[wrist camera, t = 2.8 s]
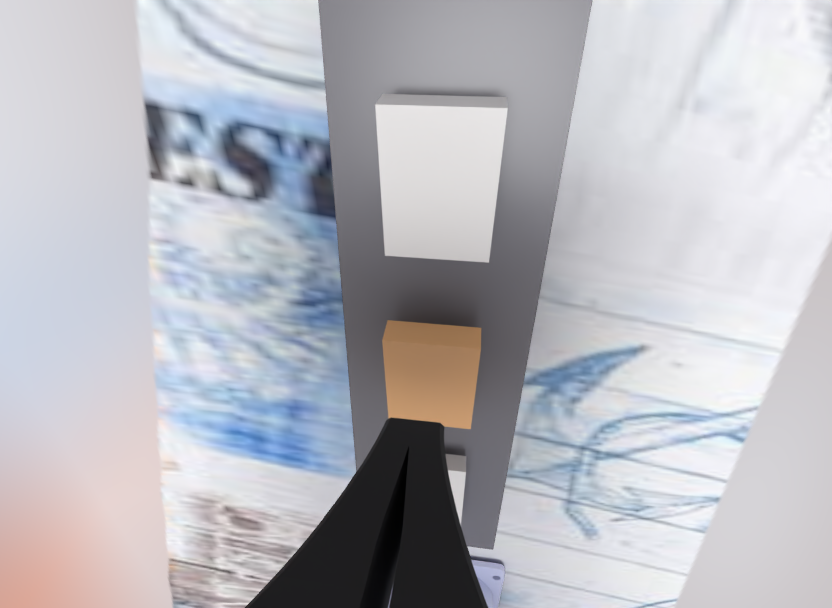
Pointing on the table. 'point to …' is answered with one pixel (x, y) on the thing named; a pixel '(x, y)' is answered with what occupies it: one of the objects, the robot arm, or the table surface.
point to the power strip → (514, 215)
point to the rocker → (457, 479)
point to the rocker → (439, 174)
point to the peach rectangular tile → (431, 371)
